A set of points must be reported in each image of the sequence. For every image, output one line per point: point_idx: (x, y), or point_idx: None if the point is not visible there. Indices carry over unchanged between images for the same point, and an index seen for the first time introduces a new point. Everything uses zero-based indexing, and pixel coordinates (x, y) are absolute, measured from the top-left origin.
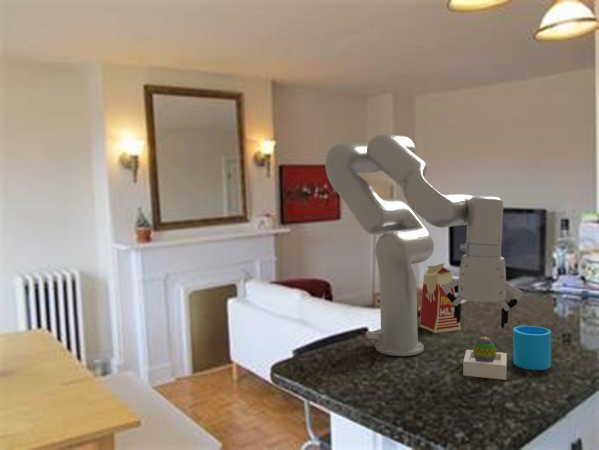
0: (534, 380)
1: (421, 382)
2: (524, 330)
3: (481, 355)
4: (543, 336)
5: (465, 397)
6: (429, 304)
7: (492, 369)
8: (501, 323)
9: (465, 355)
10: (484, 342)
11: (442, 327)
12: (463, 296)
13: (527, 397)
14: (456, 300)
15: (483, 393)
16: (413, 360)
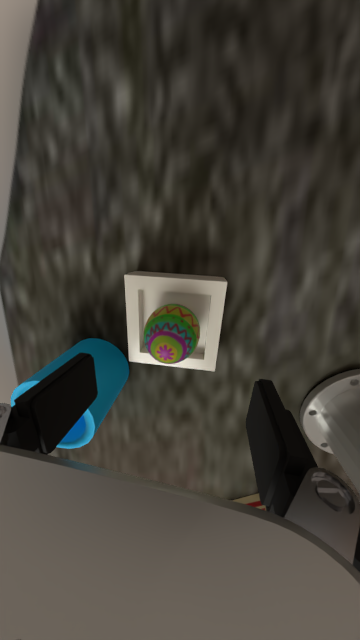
0: (87, 281)
1: (336, 197)
2: (79, 432)
3: (179, 306)
4: (23, 382)
5: (225, 112)
6: None
7: (158, 275)
8: (80, 362)
9: (219, 330)
10: (165, 327)
11: (252, 506)
12: (314, 571)
13: (89, 170)
14: (341, 523)
15: (181, 163)
16: (332, 350)
